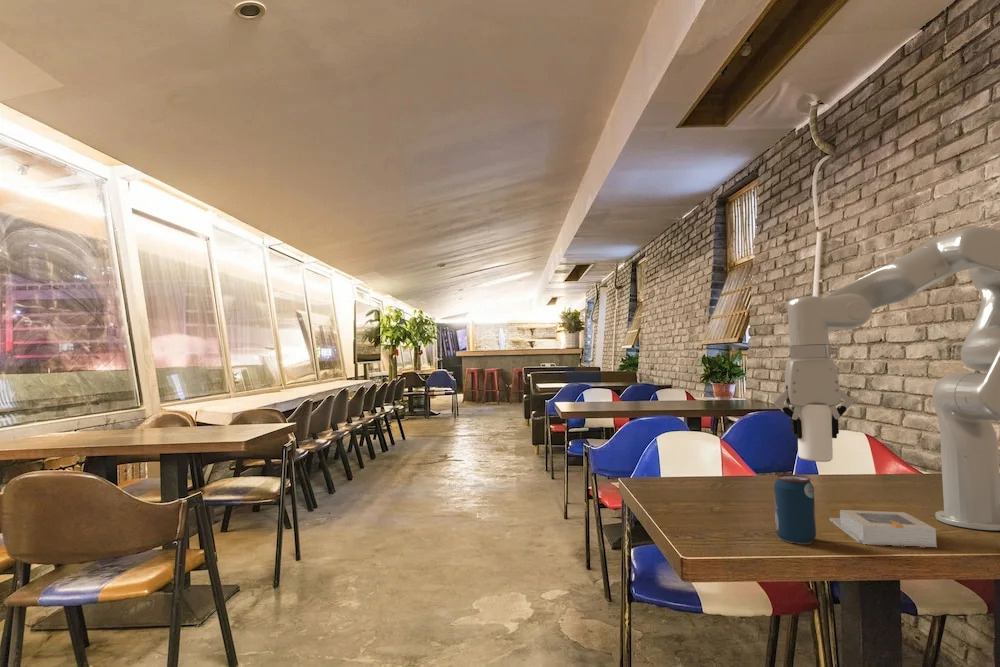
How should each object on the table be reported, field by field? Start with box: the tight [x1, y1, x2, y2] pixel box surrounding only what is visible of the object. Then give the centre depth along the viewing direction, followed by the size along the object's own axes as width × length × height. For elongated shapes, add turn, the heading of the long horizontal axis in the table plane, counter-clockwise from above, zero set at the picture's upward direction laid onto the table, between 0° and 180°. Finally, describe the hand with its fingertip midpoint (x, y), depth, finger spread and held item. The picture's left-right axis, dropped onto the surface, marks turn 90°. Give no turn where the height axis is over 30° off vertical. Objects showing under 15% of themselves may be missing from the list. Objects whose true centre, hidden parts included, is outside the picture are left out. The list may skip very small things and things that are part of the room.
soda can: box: [773, 474, 817, 545], centre depth 111 cm, size 7×7×12 cm
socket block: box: [829, 509, 938, 549], centre depth 115 cm, size 13×17×4 cm
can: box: [797, 404, 834, 463], centre depth 123 cm, size 6×6×12 cm
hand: (815, 436), depth 123 cm, fingers closed on can, 6 cm apart
